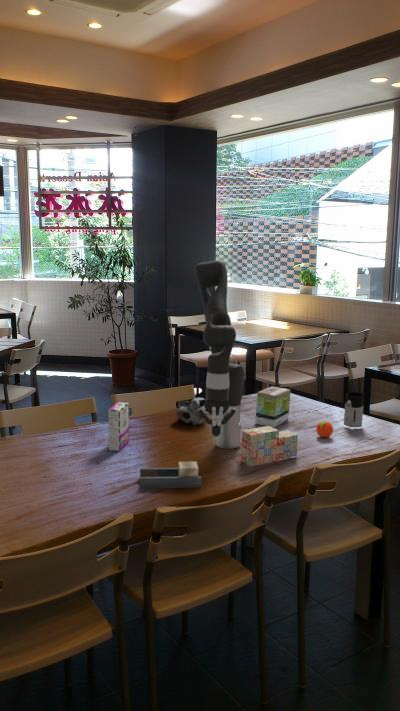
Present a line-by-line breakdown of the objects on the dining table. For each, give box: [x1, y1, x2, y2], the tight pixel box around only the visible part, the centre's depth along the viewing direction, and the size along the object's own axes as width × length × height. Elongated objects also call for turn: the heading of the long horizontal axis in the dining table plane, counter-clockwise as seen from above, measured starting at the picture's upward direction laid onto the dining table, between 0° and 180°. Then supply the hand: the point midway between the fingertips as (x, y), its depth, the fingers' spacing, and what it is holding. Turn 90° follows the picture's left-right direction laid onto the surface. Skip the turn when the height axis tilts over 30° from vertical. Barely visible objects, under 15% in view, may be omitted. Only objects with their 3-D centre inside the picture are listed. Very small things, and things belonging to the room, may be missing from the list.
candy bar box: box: [107, 401, 130, 452], centre depth 236 cm, size 11×5×16 cm, turn 168°
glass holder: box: [343, 391, 365, 427], centre depth 266 cm, size 9×14×15 cm, turn 148°
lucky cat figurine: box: [173, 397, 209, 427], centre depth 269 cm, size 15×12×14 cm
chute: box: [139, 467, 202, 490], centre depth 204 cm, size 20×9×4 cm, turn 96°
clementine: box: [316, 420, 334, 438], centre depth 254 cm, size 8×7×7 cm
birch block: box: [178, 461, 199, 477], centre depth 204 cm, size 6×6×5 cm
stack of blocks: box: [240, 426, 298, 467], centre depth 227 cm, size 21×6×12 cm, turn 119°
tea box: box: [254, 386, 291, 428], centre depth 273 cm, size 15×10×15 cm, turn 148°
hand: (215, 435), depth 203 cm, fingers closed
